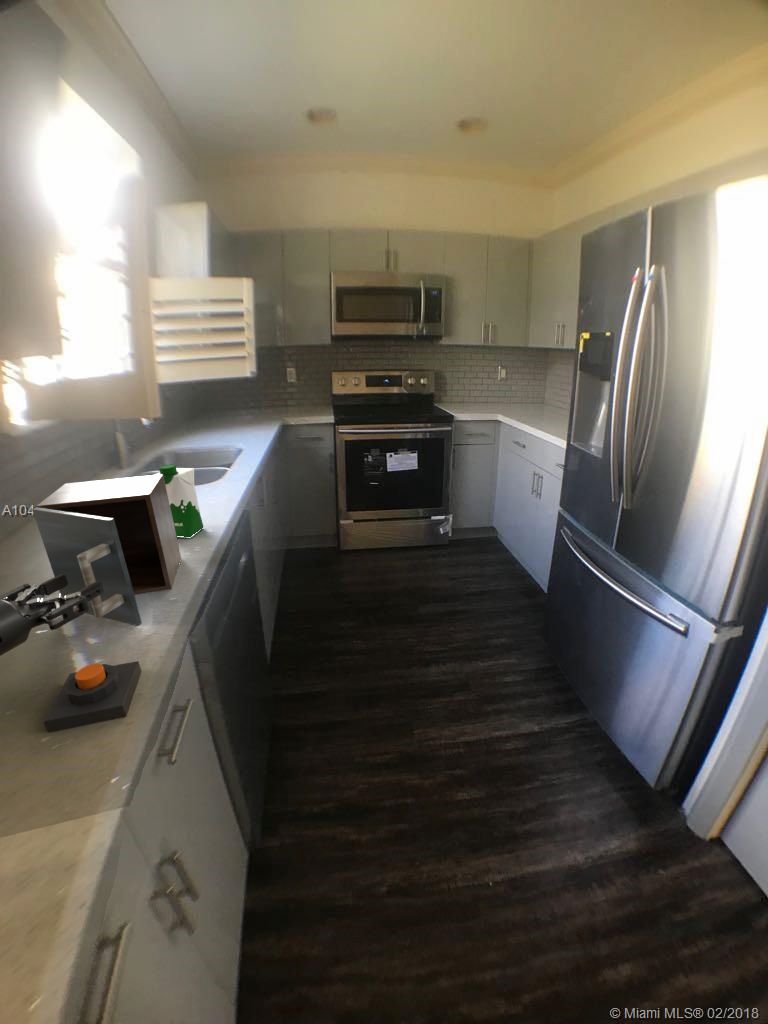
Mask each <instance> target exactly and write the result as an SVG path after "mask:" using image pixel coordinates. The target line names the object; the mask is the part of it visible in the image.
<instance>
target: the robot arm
mask: <svg viewBox="0 0 768 1024" xmlns="http://www.w3.org/2000/svg"><path fill="white" fill-rule="evenodd" d="M67 585H68V581H67V578H66V576H65V575H62V574H60V575H58V576H56V577H51V578H50V579H48V580H46V581H44V582H42V583H40V582H39V583H38V582H37V583H34V584H32V585H30V583H24V584H21V585H19V586H17V587H15V588H13V589H12V590H10V591H7V592H6V593H3V594H2V595H0V657H1V656H4V655H5V654H7V653H8V652H10V651H12V650H13V649H15V648H17V647H19V646H20V645H22V644H25V642H26V641H28V639H29V636H30V633H31V631H32V629H34V628H36V627H39V626H41V625H44V624H45V625H48V627H49V630H51V631H54V630H57V629H59V628H60V627H63V626H65V625H66V624H68V623H70V622H72V621H74V620H75V619H77V618H79V617H80V616H83V615H84V614H87V613H86V612H88V611H89V610H90V609H89V607H88V603H87V602H88V601H90V600H92V599H94V598H95V597H97V596H99V595H101V594H102V593H103V591H104V590H103V587H102V583H101V582H94V583H92V584H90V585H89V586H87V587H85V588H83V589H81V590H79V591H77V592H76V593H73V594H69V595H63V594H60V593H58V594H54V593H56V592H59V590H60V589H62V588H64V587H66V586H67ZM20 593H21V594H20ZM19 594H20V595H19ZM52 594H54V595H52ZM72 599H74V600H72ZM69 600H72V601H70V602H68V603H66V602H65V601H69ZM56 602H57V603H58V606H59V607H57V604H56ZM78 609H79V610H78ZM76 610H77V611H76Z"/></svg>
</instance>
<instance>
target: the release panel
mask: <svg viewBox="0 0 768 1024" xmlns="http://www.w3.org/2000/svg"><path fill="white" fill-rule="evenodd" d="M101 665H102V666H103V668H104V671H105V674H106V678H105V680H104V681H103V682H102V683H100V684H99V685H97V686H95V687H92V688H89V689H80V688H79V687H78V685H77V682H76V679H75V675H76V673H77V672H78V671H77V672H71V673H69V674H68V676H67V677H66V679H65V681H64V683H63V685H62V687H61V689H60V690H59V692H58V694H57V696H56V697H55V699H54V701H53V703H52V704H51V707H50V708H49V710H48V712H47V714H46V716H45V718H44V719H43V725H44V728H45V729H46V731H47V733H48V734H50V733H55V732H59V731H64V730H68V729H74V728H78V727H83V726H88V725H92V724H93V725H94V724H98V723H103V722H108V721H112V720H117V719H123V718H126V717H127V716H128V712H129V710H130V707H131V704H132V701H133V698H134V695H135V692H136V689H137V686H138V683H139V680H140V677H141V674H142V668H141V665H140V661H138V660H137V661H132V662H126V663H119V664H115V665H111V664H107V663H103V664H101Z"/></svg>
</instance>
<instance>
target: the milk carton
mask: <svg viewBox="0 0 768 1024" xmlns="http://www.w3.org/2000/svg"><path fill="white" fill-rule="evenodd" d="M158 470H159V472H157V473H154V475H160V474H163V476H164V481H165V485H166V490H167V495H168V499H169V504H170V508H171V513H172V518H173V522H174V527H175V532H176V536H184V537H191V536H192V535H193V534H195V533H196V532H198V531H199V530H200V529H202V528H203V527H204V528H205V526H204V523H203V519H202V516H201V512H200V507H199V501H198V496H197V491H196V485H195V468H194V467H177V466H176V464H173V463H172V464H163V465H161V466H159V467H158Z"/></svg>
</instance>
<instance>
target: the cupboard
mask: <svg viewBox="0 0 768 1024" xmlns="http://www.w3.org/2000/svg"><path fill="white" fill-rule="evenodd" d="M37 507H38V508H45V509H52V510H58V511H65V512H72V513H79V514H86V515H93V516H100V517H107V518H113V519H114V521H115V525H116V528H117V532H118V536H119V540H120V543H121V547H122V551H123V555H124V558H125V562H126V566H127V570H128V573H129V577H130V581H131V585H132V588H133V592H134V596H135V595H143V594H150V593H157V592H163V591H169V590H173V587H174V584H175V581H174V580H176V578H175V577H177V575H176V574H178V571H179V568H180V565H179V563H180V564H181V562H180V560H181V561H182V556H181V551H180V550H181V549H180V546H179V542H178V538H177V536H176V532H175V527H174V522H173V518H172V513H171V508H170V504H169V499H168V495H167V490H166V485H165V481H164V476H163V474H160V475H155V474H152V475H139V476H131V477H130V476H129V477H119V478H109V479H100V480H89V481H88V480H87V481H79V482H77V481H76V482H68V483H64V484H63V485H62V486H60V487H59V488H58V489H56V490H55V491H54V492H53V493H51V494H50V495H49V496H47V497H45V498H44V500H42V501H41V502H40V503H38V504H37V505H36V506H35V508H37ZM178 567H179V568H178ZM177 570H178V571H177Z"/></svg>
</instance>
